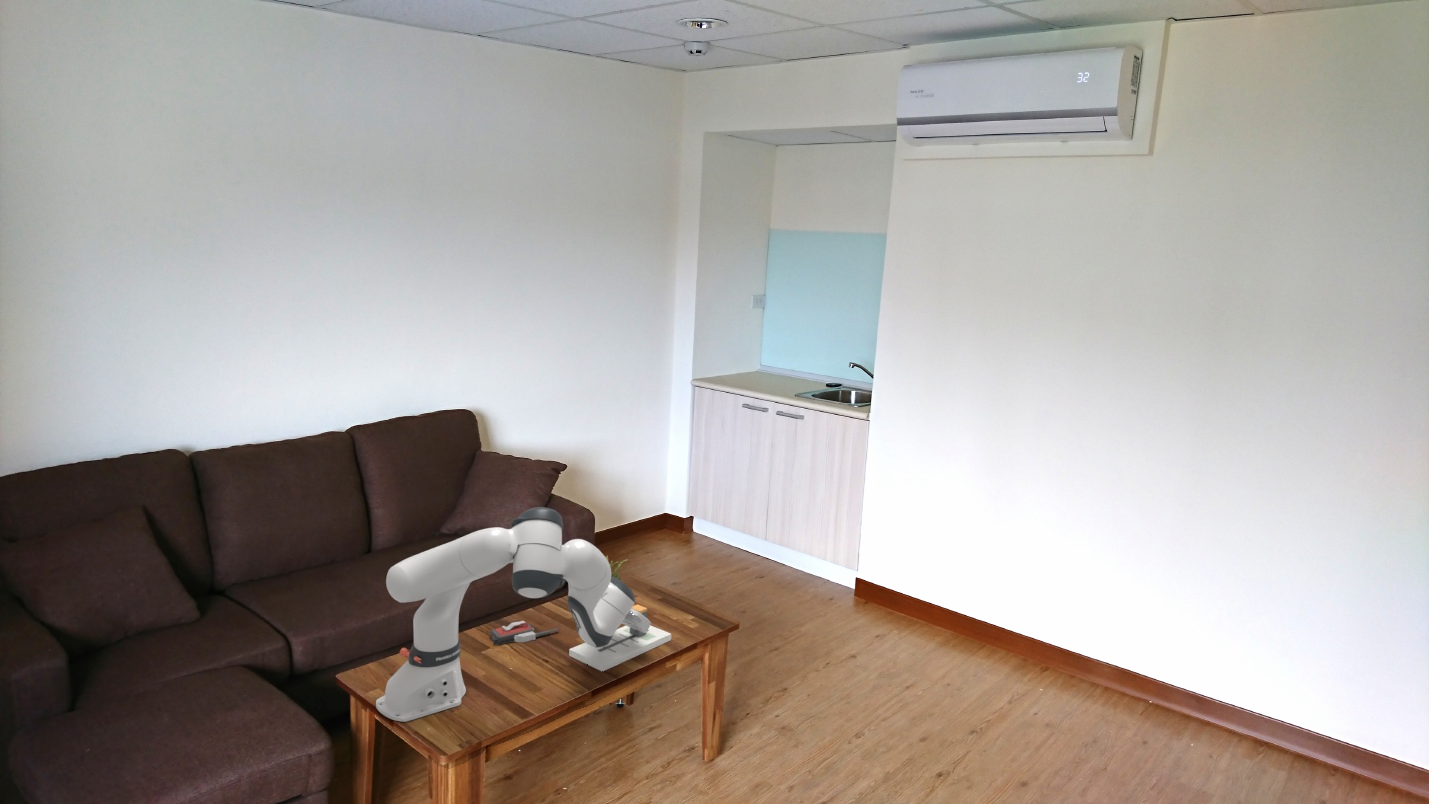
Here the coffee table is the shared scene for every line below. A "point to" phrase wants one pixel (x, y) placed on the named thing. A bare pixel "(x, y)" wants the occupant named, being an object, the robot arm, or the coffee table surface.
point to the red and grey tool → (516, 633)
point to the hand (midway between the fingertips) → (633, 626)
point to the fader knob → (644, 613)
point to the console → (619, 648)
